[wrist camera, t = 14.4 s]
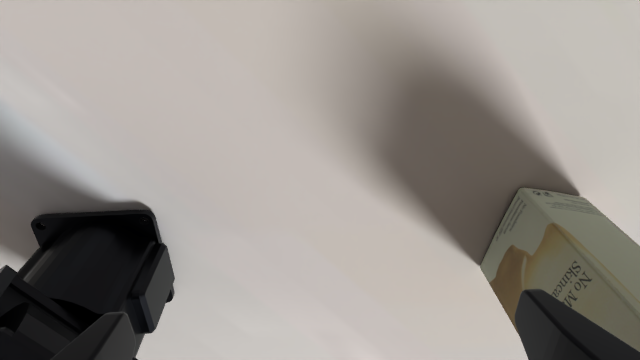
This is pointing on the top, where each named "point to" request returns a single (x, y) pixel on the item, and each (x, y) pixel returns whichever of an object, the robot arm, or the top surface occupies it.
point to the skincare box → (567, 260)
